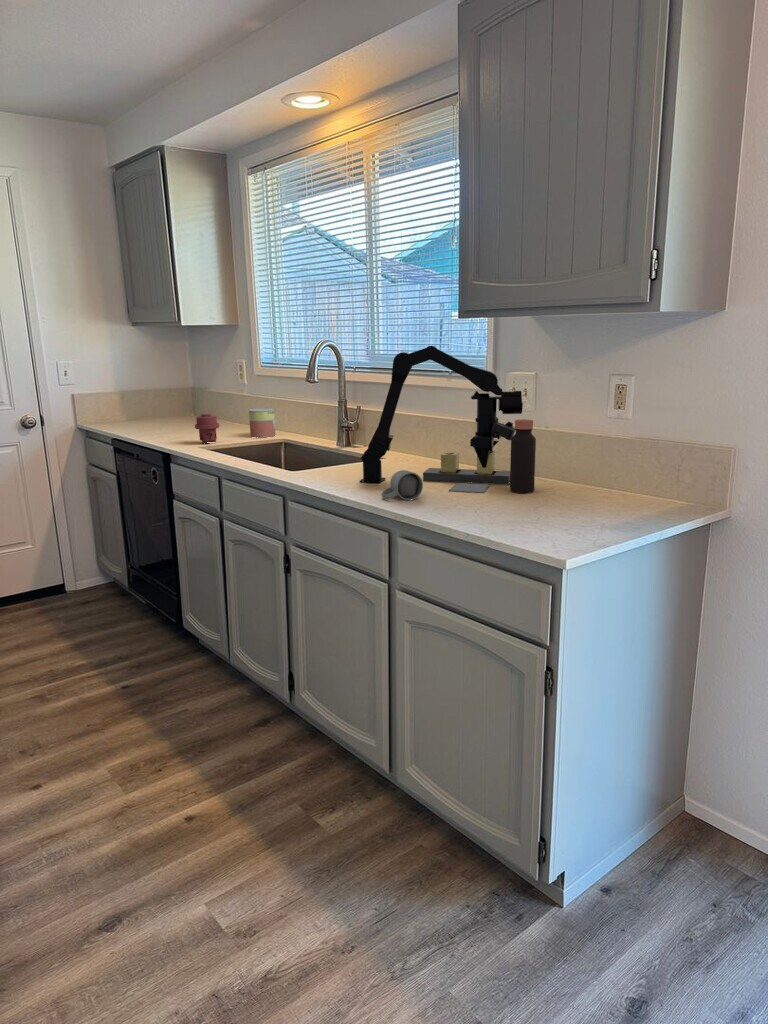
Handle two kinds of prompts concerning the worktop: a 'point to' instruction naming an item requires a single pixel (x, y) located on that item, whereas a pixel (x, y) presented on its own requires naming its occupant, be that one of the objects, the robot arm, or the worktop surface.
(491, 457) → the olive beige rectangular block
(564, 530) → the worktop surface
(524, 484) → the bottle
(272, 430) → the canned food
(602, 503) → the worktop surface
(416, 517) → the worktop surface
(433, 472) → the rack rail
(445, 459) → the khaki square post block
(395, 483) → the ceramic mug
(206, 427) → the mechanical component
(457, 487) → the grey pad
